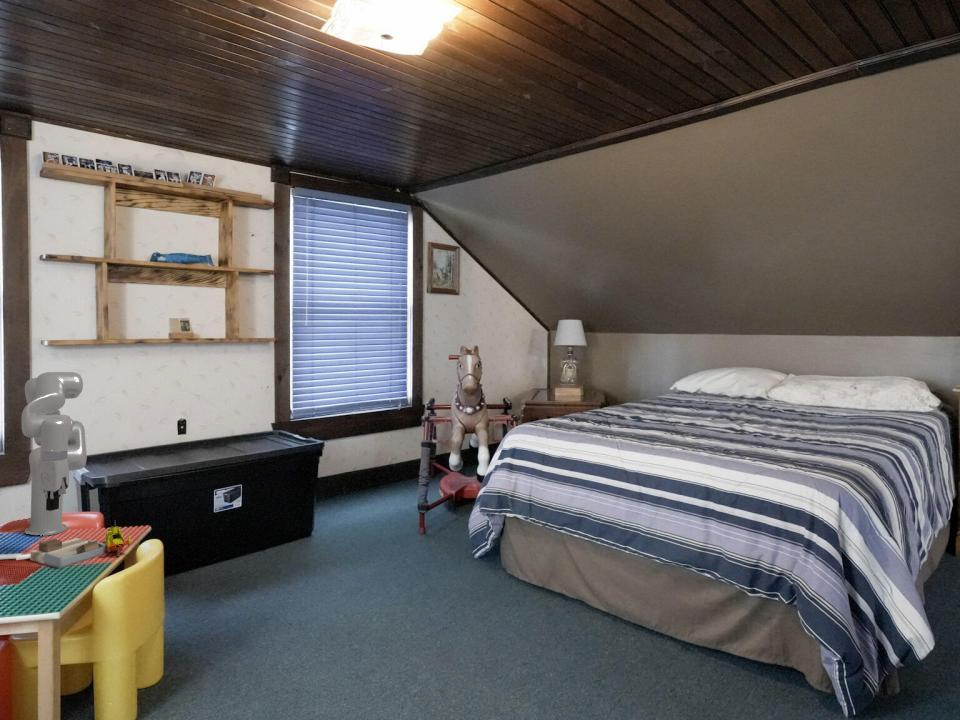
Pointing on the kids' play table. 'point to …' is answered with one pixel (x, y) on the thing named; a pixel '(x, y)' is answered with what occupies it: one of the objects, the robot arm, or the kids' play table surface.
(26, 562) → the kids' play table surface
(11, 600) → the kids' play table surface
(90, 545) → the tile
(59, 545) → the tile
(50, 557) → the box
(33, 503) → the robot arm
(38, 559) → the plate
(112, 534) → the toy car
